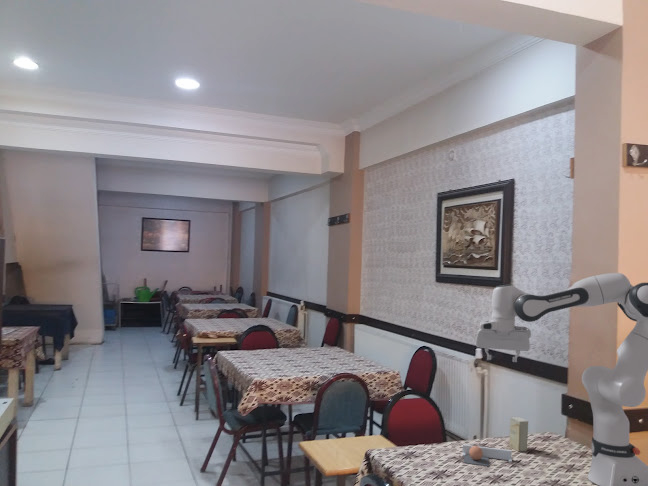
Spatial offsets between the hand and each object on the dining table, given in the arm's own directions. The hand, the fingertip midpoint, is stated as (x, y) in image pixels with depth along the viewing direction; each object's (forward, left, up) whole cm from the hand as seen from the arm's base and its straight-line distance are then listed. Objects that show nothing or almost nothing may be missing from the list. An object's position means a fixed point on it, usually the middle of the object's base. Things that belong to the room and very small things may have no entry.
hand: (501, 360), depth 203 cm
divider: (+5, +2, -37) cm, 37 cm away
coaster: (+9, +8, -37) cm, 39 cm away
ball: (+9, +8, -37) cm, 39 cm away
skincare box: (-8, -12, -37) cm, 40 cm away
